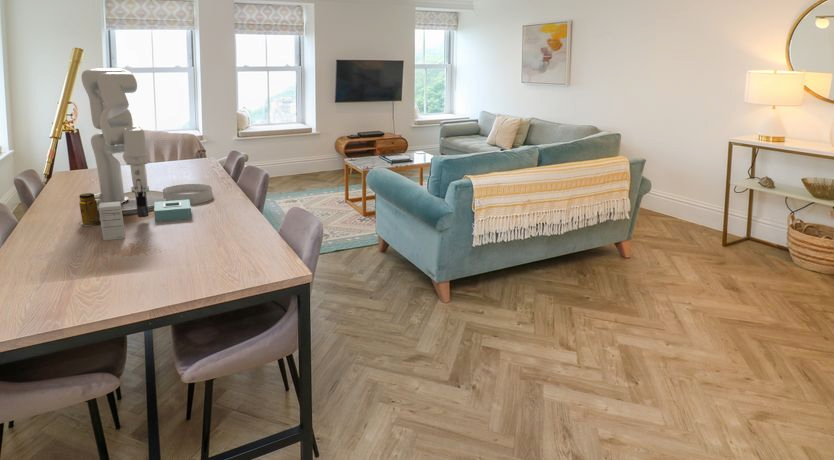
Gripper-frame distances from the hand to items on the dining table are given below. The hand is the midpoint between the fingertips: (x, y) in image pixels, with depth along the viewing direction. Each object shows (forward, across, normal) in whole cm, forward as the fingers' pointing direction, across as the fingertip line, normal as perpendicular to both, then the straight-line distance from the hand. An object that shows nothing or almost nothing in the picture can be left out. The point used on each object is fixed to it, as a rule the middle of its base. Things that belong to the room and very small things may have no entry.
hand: (141, 204), depth 238 cm
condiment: (+8, +5, +19) cm, 21 cm away
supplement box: (+7, -18, +10) cm, 22 cm away
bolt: (+5, 0, 0) cm, 5 cm away
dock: (+8, +7, -11) cm, 15 cm away
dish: (+9, +36, -18) cm, 41 cm away
